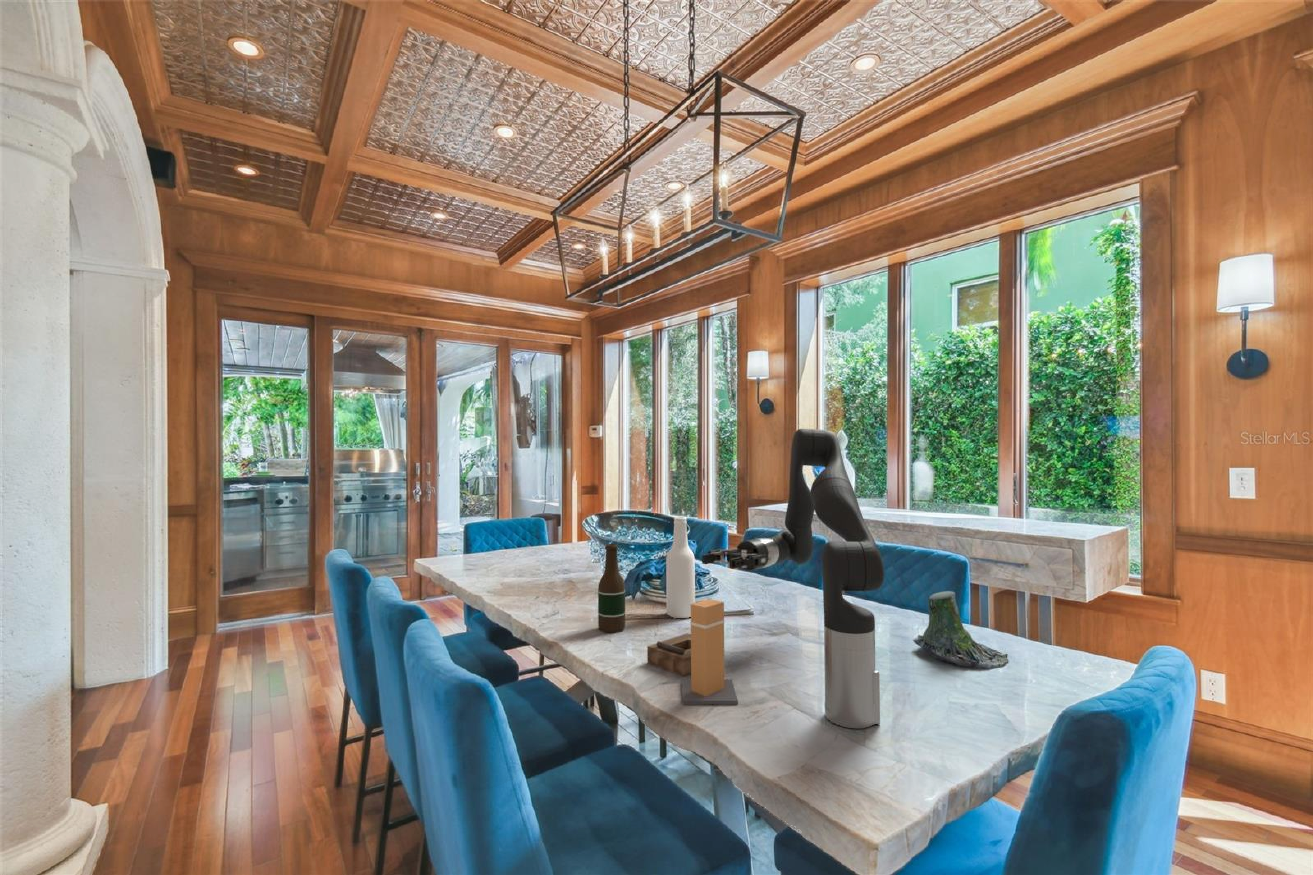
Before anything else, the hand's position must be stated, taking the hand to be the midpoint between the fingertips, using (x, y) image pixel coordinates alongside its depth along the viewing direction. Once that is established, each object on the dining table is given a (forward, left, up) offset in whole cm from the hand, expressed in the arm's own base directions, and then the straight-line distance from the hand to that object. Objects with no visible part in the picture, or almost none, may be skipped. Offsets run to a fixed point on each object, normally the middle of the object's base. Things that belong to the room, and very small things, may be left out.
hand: (716, 561), depth 142 cm
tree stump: (-60, -6, -25) cm, 65 cm away
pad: (+3, +16, -24) cm, 30 cm away
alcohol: (+7, -42, -25) cm, 49 cm away
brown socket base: (+7, -2, -24) cm, 25 cm away
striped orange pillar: (+3, +16, -23) cm, 29 cm away
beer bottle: (+27, -28, -25) cm, 46 cm away
